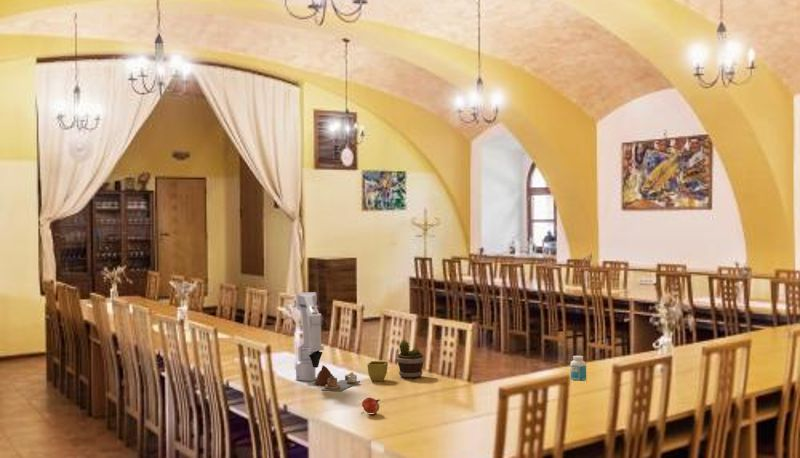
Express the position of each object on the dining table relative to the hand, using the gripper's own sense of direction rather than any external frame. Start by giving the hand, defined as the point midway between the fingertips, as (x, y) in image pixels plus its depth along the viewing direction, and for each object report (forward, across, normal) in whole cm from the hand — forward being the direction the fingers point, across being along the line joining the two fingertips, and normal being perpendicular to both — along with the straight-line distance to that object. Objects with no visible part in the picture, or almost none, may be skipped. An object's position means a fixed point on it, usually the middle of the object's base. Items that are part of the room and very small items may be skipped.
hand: (315, 367), depth 384 cm
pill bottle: (+10, +45, -118) cm, 127 cm away
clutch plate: (+8, +14, -12) cm, 20 cm away
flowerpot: (+10, +38, -35) cm, 53 cm away
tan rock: (+10, +1, -8) cm, 13 cm away
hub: (+10, +15, -12) cm, 21 cm away
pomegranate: (+10, -41, -45) cm, 62 cm away
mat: (+10, +8, -10) cm, 16 cm away
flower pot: (+10, +25, -22) cm, 35 cm away
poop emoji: (+10, +9, 0) cm, 14 cm away
